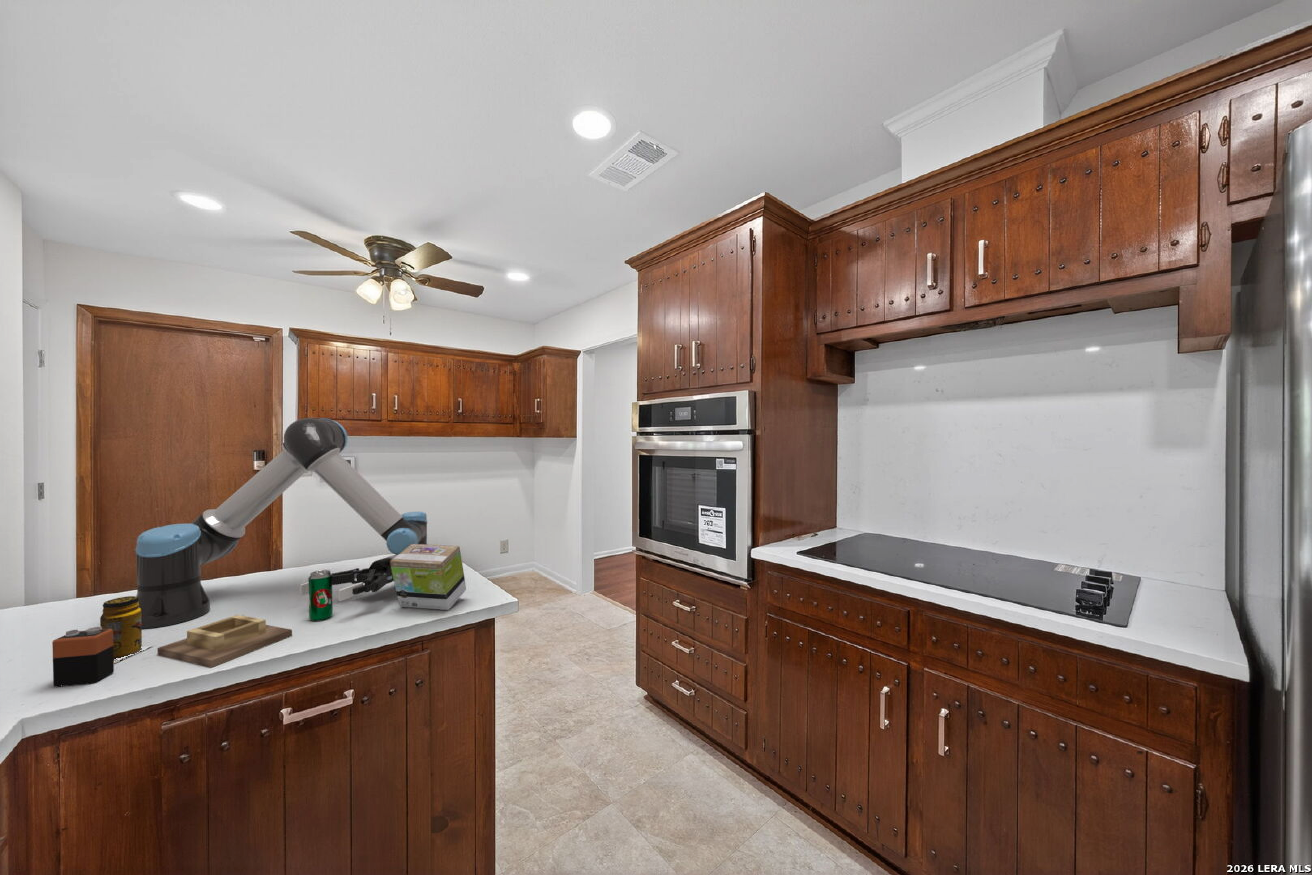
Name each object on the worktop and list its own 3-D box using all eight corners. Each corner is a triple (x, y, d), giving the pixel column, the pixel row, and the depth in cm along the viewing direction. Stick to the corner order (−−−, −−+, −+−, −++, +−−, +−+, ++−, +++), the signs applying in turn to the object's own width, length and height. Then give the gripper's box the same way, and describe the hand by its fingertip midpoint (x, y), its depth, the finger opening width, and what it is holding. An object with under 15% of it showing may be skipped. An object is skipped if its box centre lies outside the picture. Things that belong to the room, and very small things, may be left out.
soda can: (316, 614, 127) (316, 569, 127) (336, 614, 127) (336, 569, 127) (304, 622, 122) (303, 575, 122) (325, 621, 122) (324, 574, 122)
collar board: (157, 654, 104) (157, 634, 104) (241, 626, 120) (240, 608, 120) (211, 667, 99) (211, 645, 99) (292, 635, 114) (291, 617, 114)
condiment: (153, 646, 108) (152, 594, 108) (112, 665, 100) (111, 608, 100) (120, 647, 108) (119, 594, 108) (76, 665, 100) (75, 608, 100)
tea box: (398, 608, 131) (387, 560, 127) (420, 587, 141) (411, 542, 137) (449, 611, 129) (440, 562, 125) (468, 589, 139) (460, 543, 135)
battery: (96, 683, 93) (94, 632, 93) (51, 688, 91) (50, 635, 91) (115, 672, 97) (114, 623, 97) (73, 676, 95) (72, 626, 95)
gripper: (422, 586, 140) (356, 612, 120) (357, 578, 148) (285, 601, 128) (421, 560, 140) (356, 583, 120) (357, 554, 148) (285, 573, 128)
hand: (319, 592), depth 124 cm, fingers open, 13 cm apart
